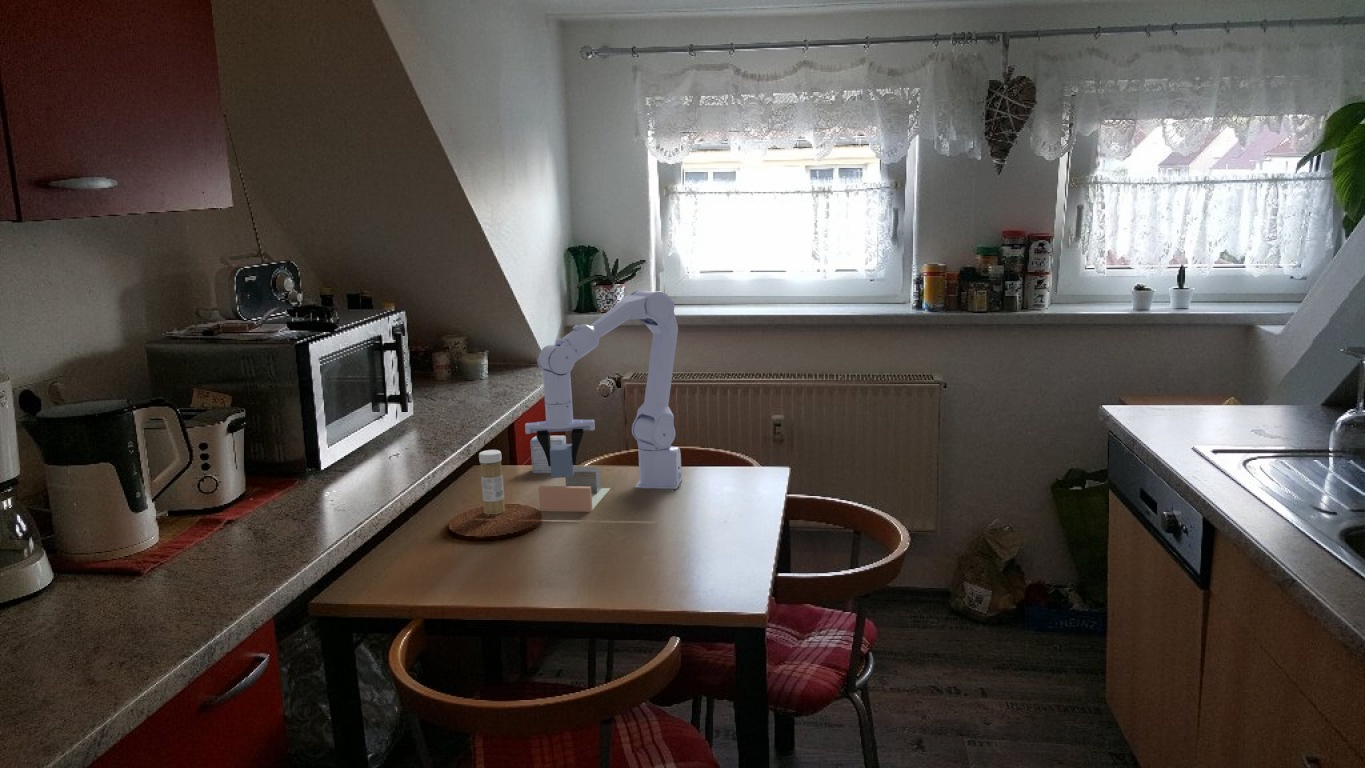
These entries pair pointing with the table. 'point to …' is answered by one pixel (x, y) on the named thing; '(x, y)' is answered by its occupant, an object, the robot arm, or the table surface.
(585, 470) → the grey toy block
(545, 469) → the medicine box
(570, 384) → the robot arm
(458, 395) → the table surface
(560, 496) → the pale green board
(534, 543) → the table surface
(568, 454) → the slate blue carton
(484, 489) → the sprinkles bottle
